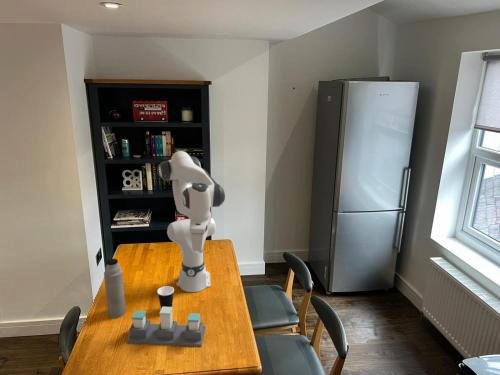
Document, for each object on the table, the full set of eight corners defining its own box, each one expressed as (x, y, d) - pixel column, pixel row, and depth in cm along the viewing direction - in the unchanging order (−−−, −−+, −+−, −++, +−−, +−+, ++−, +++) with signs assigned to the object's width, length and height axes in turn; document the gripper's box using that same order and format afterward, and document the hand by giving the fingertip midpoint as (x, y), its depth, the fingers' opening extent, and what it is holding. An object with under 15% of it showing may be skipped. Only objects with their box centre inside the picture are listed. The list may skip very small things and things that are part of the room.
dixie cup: (177, 307, 182) (177, 287, 179) (169, 316, 174) (168, 296, 171) (163, 303, 184) (162, 284, 181) (155, 313, 177) (153, 293, 174)
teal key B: (190, 330, 163) (189, 313, 161) (200, 330, 163) (200, 313, 161) (188, 337, 159) (187, 319, 156) (198, 338, 159) (198, 320, 156)
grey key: (163, 324, 163) (162, 306, 160) (173, 324, 163) (172, 307, 160) (160, 330, 159) (159, 313, 156) (171, 331, 158) (170, 313, 156)
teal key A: (136, 328, 164) (135, 310, 162) (147, 328, 164) (146, 311, 161) (133, 335, 160) (132, 317, 157) (143, 335, 160) (142, 317, 157)
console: (136, 324, 168) (135, 315, 167) (205, 328, 167) (205, 318, 166) (126, 343, 157) (125, 333, 155) (201, 346, 156) (201, 336, 154)
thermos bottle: (114, 306, 181) (109, 255, 173) (129, 309, 179) (124, 258, 171) (104, 316, 173) (98, 263, 165) (119, 319, 171) (114, 266, 163)
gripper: (197, 212, 165) (198, 240, 169) (188, 230, 146) (189, 262, 150) (211, 213, 165) (211, 241, 169) (204, 231, 146) (204, 262, 150)
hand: (201, 251), depth 159 cm, fingers closed
